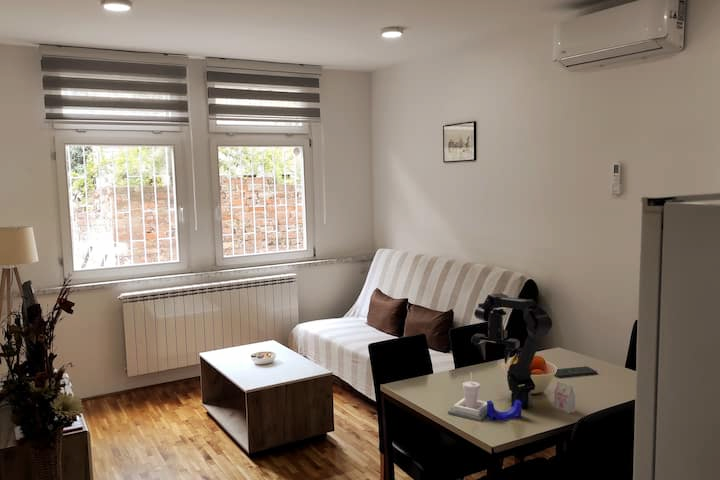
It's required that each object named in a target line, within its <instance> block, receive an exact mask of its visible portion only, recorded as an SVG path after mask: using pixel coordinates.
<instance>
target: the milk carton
mask: <svg viewBox="0 0 720 480" xmlns="http://www.w3.org/2000/svg"><path fill="white" fill-rule="evenodd" d="M553 406H554V407H553V408H555V409H556V410H559V411H560V412H561V411H562V412H564V413H565V414H567V415H569V414H573V413H575V412H576V395H575V393H574V388H573V386H571V385H570V384H567V383H564V382H561V381H557V384H556V387H555V390H554V405H553Z"/></svg>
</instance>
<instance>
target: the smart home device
mask: <svg viewBox="0 0 720 480" xmlns="http://www.w3.org/2000/svg"><path fill="white" fill-rule="evenodd" d="M556 369H557V372H556V374H555V376H554V377H555V378H557V379H561V378H563V379H564V378H572V377H573V376H575V377H582V376H581V375H585V376H592V375H591V374H595V375H597V374H598V371H597V370H596V369H593V368H591V367H589V366H578V367H577V366H575V367H566V368H556ZM573 378H574V377H573Z"/></svg>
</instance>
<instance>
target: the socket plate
mask: <svg viewBox="0 0 720 480" xmlns="http://www.w3.org/2000/svg"><path fill="white" fill-rule="evenodd" d="M447 414H448V415H451V416H456V417H459V418H464V419H468V420H474V421H478V422H482V421H483V420H484V419H486V417H487V401H484V400H480V399H477V405H476V409H473V408H468V407H466V405H465V396H464V397H463V398H461V400H459V401H457V402H456V403H455V404H453V407H451V408H450V409H449V410H448V411H447Z"/></svg>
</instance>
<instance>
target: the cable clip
mask: <svg viewBox="0 0 720 480" xmlns="http://www.w3.org/2000/svg"><path fill="white" fill-rule="evenodd" d="M486 402H487V416H486V417H487V418H488V419H489V421H490V422H497V421H499V422H500V421H507V420H508V419H522V410H523V409H522V403H521V402H520V400H515V403H514V405H513V407H512V406H511V408H510V409H508V410H506V411H499V410H497V409H496V408H495V406H494V405H495V404H494V402H493V401H492V400H487V401H486Z"/></svg>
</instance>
